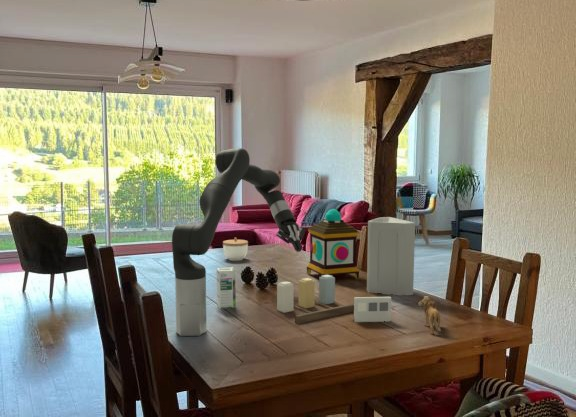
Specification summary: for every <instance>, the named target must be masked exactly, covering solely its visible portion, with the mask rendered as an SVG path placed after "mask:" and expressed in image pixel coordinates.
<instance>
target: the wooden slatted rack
mask: <svg viewBox="0 0 576 417" xmlns="http://www.w3.org/2000/svg"><path fill="white" fill-rule="evenodd" d="M316 305H317V306H319V307H323V308H324V309H320V310H316V311H310V310H307V309H306V308H303V307H301V306H299V305H298V306H297V305H295V304H293V309H294V310H295V309H296V310H297V311H301V312H303V313H301V314H296V315H294V323H295V324H297V325H298V324H303V323H307V322H311V321H317V320H321V319H325V318H331V317H334V316H338V315H339V316H340V315H344V314H349V313H354V303H350V304H345V305H339V306H335V307H332V306H329V305H328V304H324V303H321V302H319V301H315V306H316Z"/></svg>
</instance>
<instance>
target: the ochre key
mask: <svg viewBox="0 0 576 417" xmlns="http://www.w3.org/2000/svg"><path fill="white" fill-rule="evenodd" d="M315 282H316V281H315V280H313V279H312V278H310V277H305V278H300V279H299V280H298V307H300V308H303V309H309V308H313V307H315V306H316V304H315V299H316V298H315V296H316V295H315V294H316V290H315V286H316V283H315Z"/></svg>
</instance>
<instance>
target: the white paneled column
mask: <svg viewBox="0 0 576 417" xmlns="http://www.w3.org/2000/svg"><path fill="white" fill-rule="evenodd" d="M415 240H416V222H414V221H408V220H404V219H401V218H397V217H391V216H386V217H385V216H383V217H381V216H380V217H377V218H374V219H371V220H368V221H367V263H366V264H367V265H366V268H367V269H366V275H367V276H366V292H367V291H368V292H367V293H369V292H371V293H370V294H377V293H382V294H381V295H390V294H393V295H392V296H402V295H406V296H411V295H412V296H413V295H414V278H415V276H414V275H415V274H414V272H415Z"/></svg>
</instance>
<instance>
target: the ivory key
mask: <svg viewBox="0 0 576 417" xmlns="http://www.w3.org/2000/svg"><path fill="white" fill-rule="evenodd" d="M276 288H277V289H276V310H277V311H279V312H281V313H289V312H294V308H293V305H294V300H295V299H294V297H295V296H294V293H295V292H294V284H293V283H292V282H290V281H279V282H278V283H276Z"/></svg>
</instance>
